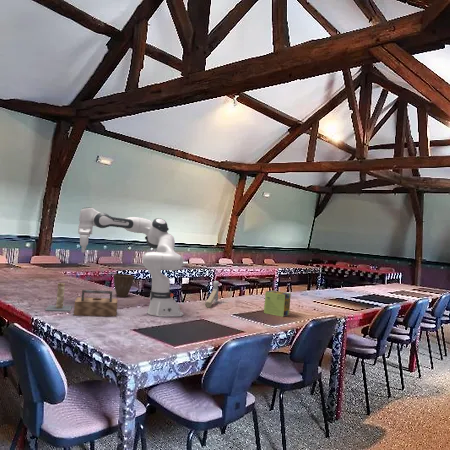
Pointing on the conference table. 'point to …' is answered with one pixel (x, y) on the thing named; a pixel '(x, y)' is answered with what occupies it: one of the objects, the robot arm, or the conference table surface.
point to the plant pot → (123, 284)
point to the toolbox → (95, 305)
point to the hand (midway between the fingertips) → (83, 252)
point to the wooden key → (60, 295)
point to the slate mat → (53, 308)
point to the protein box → (277, 303)
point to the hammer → (213, 295)
